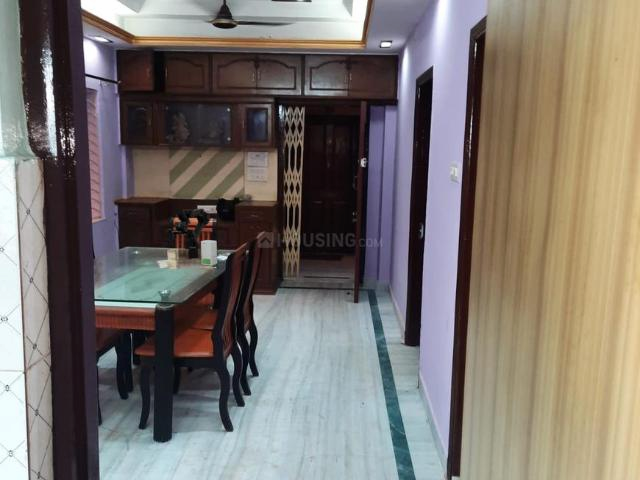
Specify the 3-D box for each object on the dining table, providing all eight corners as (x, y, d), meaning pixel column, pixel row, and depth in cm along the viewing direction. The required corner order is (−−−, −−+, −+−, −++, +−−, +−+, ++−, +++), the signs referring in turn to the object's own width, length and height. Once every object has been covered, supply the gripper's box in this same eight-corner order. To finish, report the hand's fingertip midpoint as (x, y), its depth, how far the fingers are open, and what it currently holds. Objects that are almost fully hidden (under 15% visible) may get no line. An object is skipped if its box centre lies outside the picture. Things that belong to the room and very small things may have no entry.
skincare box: (201, 264, 360) (200, 241, 358) (208, 262, 366) (206, 239, 363) (211, 265, 356) (210, 242, 354) (218, 263, 362) (216, 240, 360)
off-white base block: (172, 263, 367) (172, 259, 366) (175, 266, 358) (175, 261, 357) (157, 265, 362) (156, 261, 362) (159, 268, 354) (159, 263, 353)
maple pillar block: (171, 267, 356) (170, 248, 354) (179, 267, 355) (177, 248, 353) (168, 268, 351) (167, 250, 349) (176, 268, 350) (174, 250, 348)
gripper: (166, 217, 367) (159, 235, 358) (192, 217, 364) (186, 235, 354) (172, 227, 376) (165, 246, 367) (198, 227, 372) (192, 246, 363)
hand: (177, 243), depth 362 cm, fingers open, 9 cm apart
